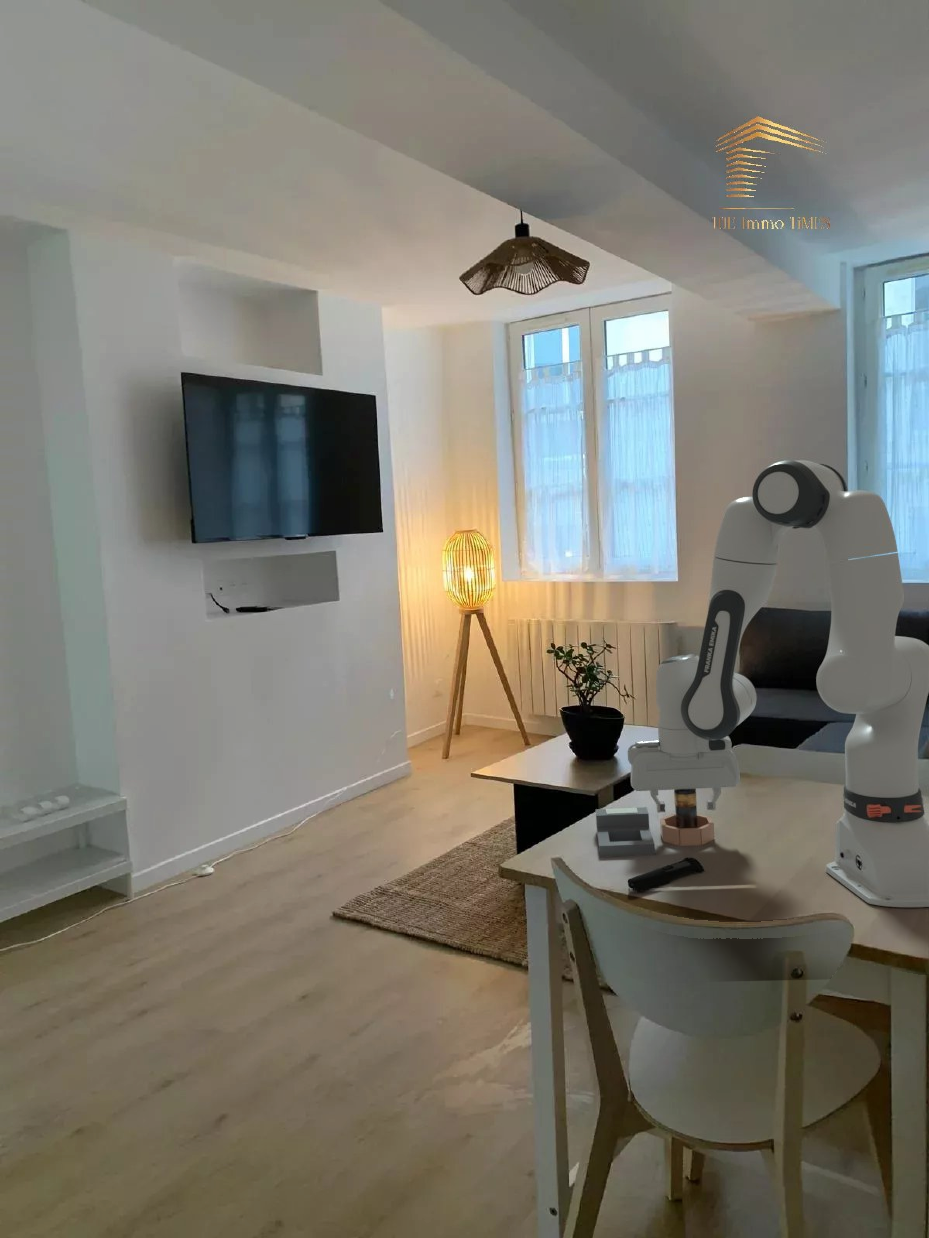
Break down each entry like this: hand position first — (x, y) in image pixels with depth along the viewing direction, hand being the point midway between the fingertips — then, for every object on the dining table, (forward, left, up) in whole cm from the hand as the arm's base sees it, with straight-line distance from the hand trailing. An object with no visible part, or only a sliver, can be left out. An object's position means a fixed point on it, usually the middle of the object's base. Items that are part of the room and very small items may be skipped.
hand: (686, 810), depth 179 cm
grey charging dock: (-2, +12, -6) cm, 13 cm away
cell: (0, 0, -5) cm, 5 cm away
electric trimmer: (-21, +6, -6) cm, 22 cm away
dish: (0, 0, -6) cm, 6 cm away
